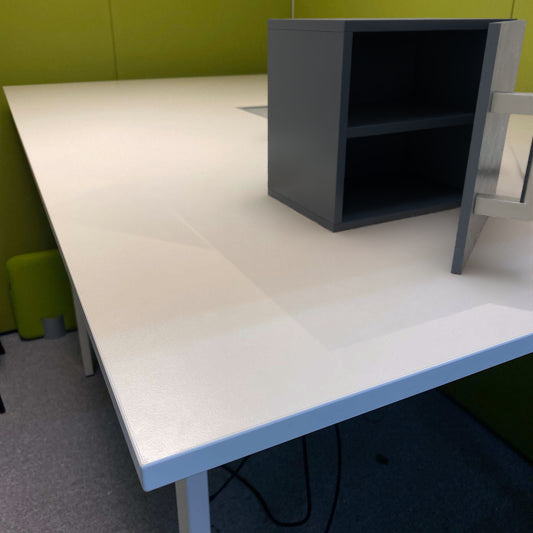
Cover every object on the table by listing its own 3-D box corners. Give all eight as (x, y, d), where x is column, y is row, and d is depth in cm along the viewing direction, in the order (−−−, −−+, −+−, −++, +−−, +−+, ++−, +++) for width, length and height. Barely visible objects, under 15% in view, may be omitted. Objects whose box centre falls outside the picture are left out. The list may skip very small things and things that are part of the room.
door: (538, 210, 76) (580, 20, 66) (521, 286, 55) (578, 23, 45) (486, 203, 79) (518, 19, 69) (450, 272, 58) (489, 22, 48)
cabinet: (485, 203, 79) (517, 18, 69) (333, 233, 69) (344, 20, 58) (404, 173, 94) (420, 17, 84) (267, 195, 83) (267, 18, 73)
